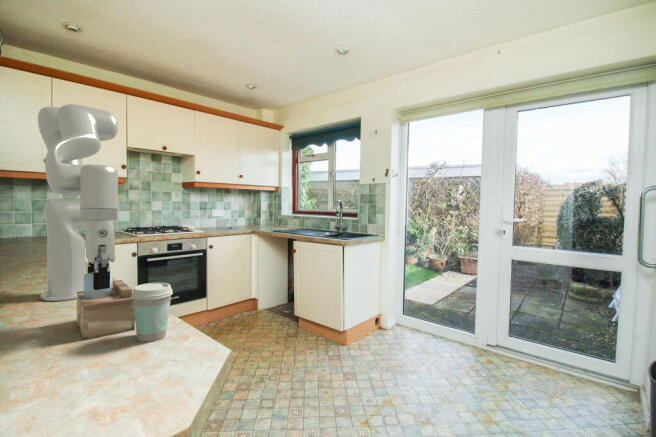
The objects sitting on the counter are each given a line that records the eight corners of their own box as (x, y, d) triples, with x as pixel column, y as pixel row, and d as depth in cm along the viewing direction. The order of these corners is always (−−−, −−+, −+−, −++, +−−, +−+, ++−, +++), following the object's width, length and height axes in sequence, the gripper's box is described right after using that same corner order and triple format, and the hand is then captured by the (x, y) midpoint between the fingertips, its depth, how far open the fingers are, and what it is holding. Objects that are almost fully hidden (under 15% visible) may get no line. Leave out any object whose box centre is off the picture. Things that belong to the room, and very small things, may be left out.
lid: (76, 294, 81) (76, 284, 81) (122, 289, 88) (122, 279, 88) (84, 309, 70) (84, 297, 70) (135, 301, 77) (135, 290, 77)
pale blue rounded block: (109, 291, 82) (109, 270, 82) (113, 296, 78) (113, 274, 78) (82, 295, 78) (82, 273, 78) (85, 300, 74) (85, 277, 74)
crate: (76, 322, 81) (77, 295, 81) (122, 314, 88) (122, 289, 87) (83, 340, 71) (84, 309, 70) (134, 329, 78) (135, 301, 77)
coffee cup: (154, 346, 69) (155, 292, 68) (121, 342, 71) (121, 289, 70) (179, 332, 77) (180, 283, 77) (149, 328, 79) (150, 280, 79)
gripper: (124, 217, 74) (123, 290, 74) (110, 214, 86) (110, 276, 87) (84, 217, 68) (83, 295, 69) (75, 214, 81) (75, 280, 81)
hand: (98, 284), depth 78 cm, fingers open, 9 cm apart
